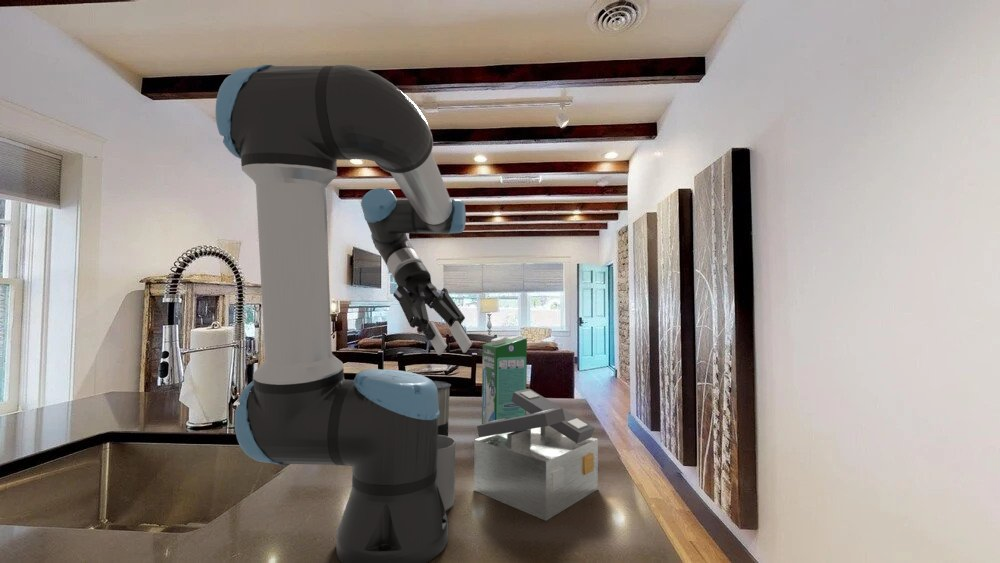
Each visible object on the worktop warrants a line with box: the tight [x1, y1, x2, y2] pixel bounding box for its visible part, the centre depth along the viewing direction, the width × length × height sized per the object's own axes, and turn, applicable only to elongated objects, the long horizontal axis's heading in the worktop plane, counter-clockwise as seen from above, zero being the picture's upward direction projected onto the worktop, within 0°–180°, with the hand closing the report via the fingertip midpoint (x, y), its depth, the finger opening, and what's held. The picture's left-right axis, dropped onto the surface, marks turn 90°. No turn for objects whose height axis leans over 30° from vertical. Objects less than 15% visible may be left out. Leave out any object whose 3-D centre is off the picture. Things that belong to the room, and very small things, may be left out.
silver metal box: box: [473, 426, 599, 522], centre depth 78 cm, size 16×16×11 cm
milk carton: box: [481, 335, 528, 425], centre depth 115 cm, size 9×9×25 cm
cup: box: [437, 435, 456, 512], centre depth 72 cm, size 8×8×10 cm
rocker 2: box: [511, 388, 595, 443], centre depth 82 cm, size 5×16×2 cm, turn 48°
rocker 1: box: [476, 407, 565, 438], centre depth 75 cm, size 5×16×2 cm, turn 48°
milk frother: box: [432, 380, 452, 437], centre depth 99 cm, size 14×16×15 cm
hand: (455, 349), depth 87 cm, fingers open, 6 cm apart
